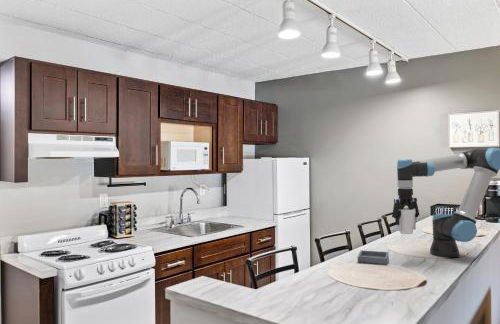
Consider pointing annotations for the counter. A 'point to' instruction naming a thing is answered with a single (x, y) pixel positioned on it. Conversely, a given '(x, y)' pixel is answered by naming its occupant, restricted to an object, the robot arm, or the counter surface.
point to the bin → (373, 257)
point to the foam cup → (407, 220)
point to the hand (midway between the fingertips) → (406, 230)
